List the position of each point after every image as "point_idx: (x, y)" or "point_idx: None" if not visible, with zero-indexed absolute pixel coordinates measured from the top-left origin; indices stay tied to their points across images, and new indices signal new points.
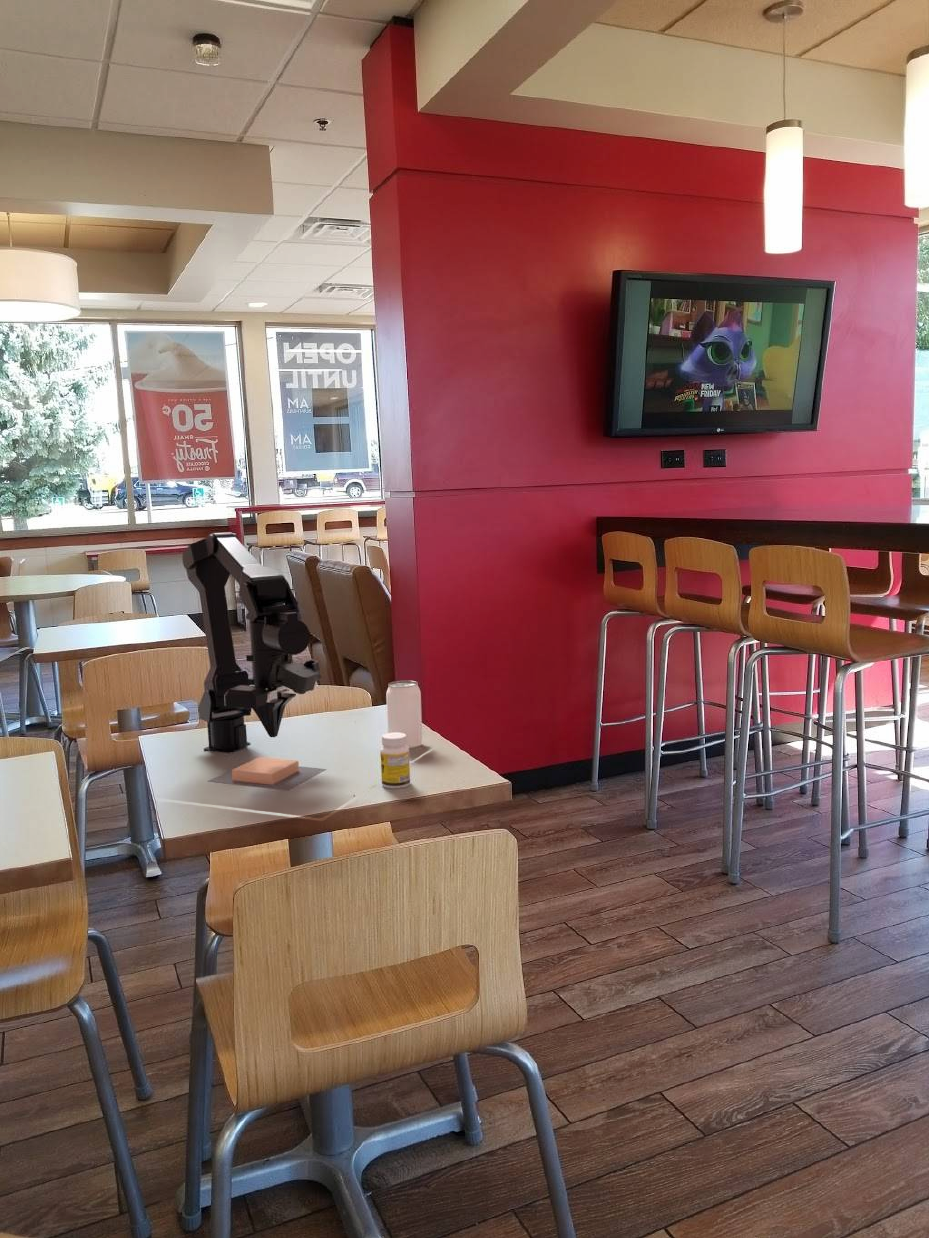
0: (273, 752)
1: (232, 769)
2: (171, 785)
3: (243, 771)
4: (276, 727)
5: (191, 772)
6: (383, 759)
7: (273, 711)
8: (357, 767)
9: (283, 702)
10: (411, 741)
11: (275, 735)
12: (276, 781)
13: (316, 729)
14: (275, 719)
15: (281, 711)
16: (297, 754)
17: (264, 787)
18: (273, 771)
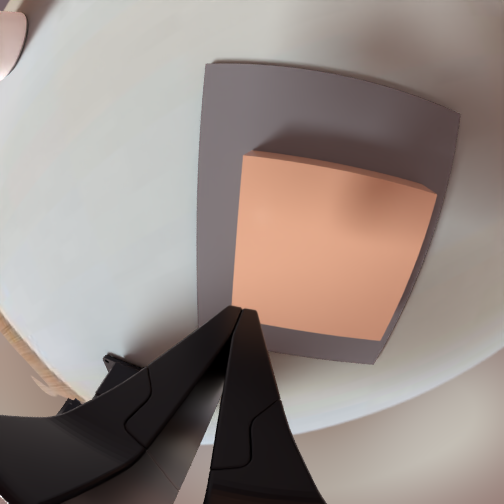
0: (110, 305)
1: (275, 351)
2: (377, 401)
3: (396, 305)
4: (236, 341)
5: (292, 403)
6: None
7: (289, 478)
8: (150, 6)
9: (100, 487)
10: (14, 12)
11: (250, 311)
12: (401, 179)
13: (6, 271)
14: (250, 395)
15: (142, 410)
16: (95, 245)
17: (442, 202)
18: (405, 201)
